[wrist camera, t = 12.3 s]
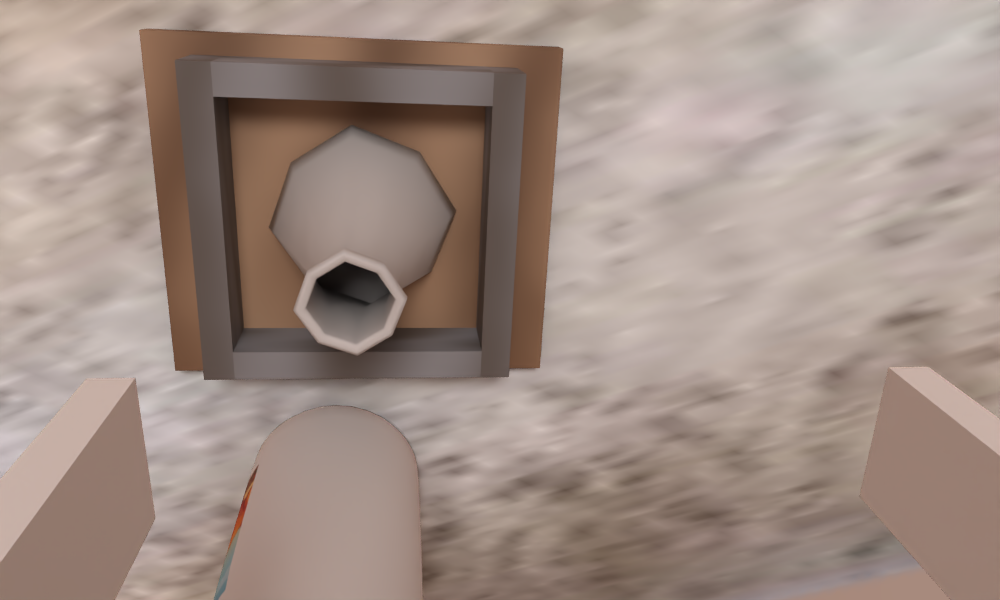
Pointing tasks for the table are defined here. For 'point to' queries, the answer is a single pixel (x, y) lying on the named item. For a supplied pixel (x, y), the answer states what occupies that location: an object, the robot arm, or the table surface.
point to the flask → (359, 234)
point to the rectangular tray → (303, 126)
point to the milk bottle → (328, 514)
